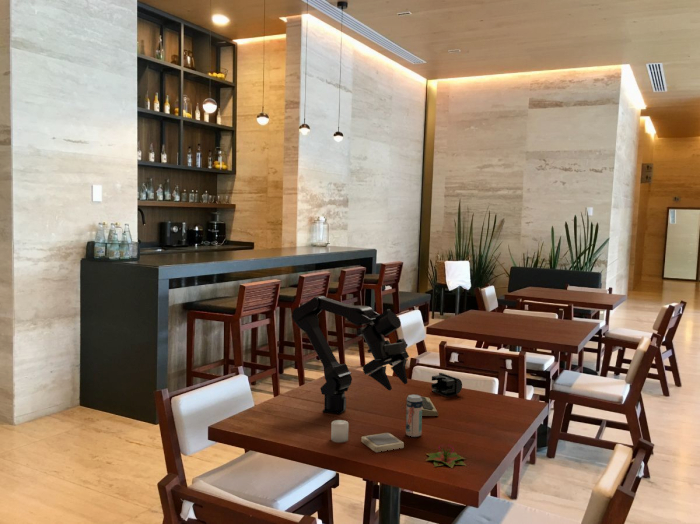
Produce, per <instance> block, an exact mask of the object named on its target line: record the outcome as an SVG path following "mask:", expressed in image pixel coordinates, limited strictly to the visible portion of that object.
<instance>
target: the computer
mask: <svg viewBox="0 0 700 524" xmlns="http://www.w3.org/2000/svg"><path fill="white" fill-rule="evenodd" d="M421 398H422V416H439V412H438V411H437V409H436V407H435V405H434V404H433V402H432V401H431V399H430V397H426V396H421Z"/></svg>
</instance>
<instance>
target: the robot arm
mask: <svg viewBox="0 0 700 524" xmlns="http://www.w3.org/2000/svg"><path fill="white" fill-rule="evenodd" d="M322 311H325V312H329V313H331V314H334V315H337V316H341V317H344V319H346V320H347V321H348V322H350V323H351V324H353V325H354V326H355V327H357V326H359V327H358V329H357V332H356V335H355V336H356V337H361V336H362V337H363V338H364V340H365V343H366V345H367V347H368V349H367V353H368V354H370V353H371V355H372V357H373V359H371V360H370V361H368V363H366V364H364V365H362V371H363V373H364V375H365V376H368V377H371V379H374V381H376V382H378V384H380V385H381V386H383V387H384V388H385V389H386V390H388V391H391V390H393V388H392V385H391V384H392V383H391V382H390V380H389V377H388V375H387V372H386V371H387V365H389V366H390V369H391V371H393V373H394V374H395V375H396V377H397V378H399V380H400V381H401V382H402V384H404V385H406V384H408V383H409V382H408V377H407V376H408V375H407V373H406V372H407V370H406V364H407V362H408V360H409V357H410V355H409V354H408V352H407V347H408V346H409V345H408V343H407V342H406V340H405V339H404V338H399V339H397V340H396V342H394V343H391V342H390V340H388V339H387V340H386V339H385V338H384V336H385V337H386V336H388V335H390V334H392V333H393V332H395V331H397V330H398V329H399V328H401V325H402V324H401V323H402V322H401V319H400V318H399V316H397V315H396V313H395V312H393V311H392V310H391V309H390V308H388V309H385V310H384V311H383V312H382V313H377V312H376V311H374V309H373V308H372V307H370V306H367V305H353V304H348V303H345V302H341V301H338V300H335V299H332V298H328V297H326V296H325V295H320V296H318V295H317V296H314V297H313V298H311V299H310V300H309V301H307V302H305V303H304V304H302V305H300V306H297V307H295V308H294V309H293V311H292V315H291V318H292V321H293V322H294V323H295V325H296V326H297V327H298V329H300V330H302V332H304V333H305V334H306V335H307V338H308V340H309V341H310V344H311V346H312V347H313V349H314V351H315V352H316V355H317V356H318V358H319V360H320V362H321V364H322V366H323V368H324V379H325V383H324V384H323V385H322V386H320V388H319V389H320V392H321V395H324V406H323V407H324V409H322V413H329V414H336V415H337V414H338V415H340V414H342V413H344V411H345V410H346V409H347V397H346V393H345V392H348V391H349V387H350V386H351V384H352V381H353V378H352V372H351V371H350V370H349V368H348V365H347V364H346V363H343V364H341V363H340V362H338V360H337V358H336V356H335V355H334V353H333V351H332V348H331V347H330V345H329V343H328V341H327V339H326V337H325V336H324V334H323V332H322V331H321V328H320V326H319V314H321V312H322ZM363 325H365V326H363ZM361 326H363V327H361Z"/></svg>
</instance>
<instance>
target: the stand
mask: <svg viewBox="0 0 700 524" xmlns="http://www.w3.org/2000/svg"><path fill="white" fill-rule="evenodd" d="M360 439H361V442H362V444H364V445H365V446H366V447H368V448H369V449H371V450H372V451H373V452H375V453H382V452H387V450H388V451H392V450H393V449H394V450H399V448H400V449H404V448H405V446H404V445H405V443H404V441H402V440H401V439H400V438H398V437H396V436H394V435H393V434H391V433H390V432H383V433H376V434H370V435H364V436H361V438H360ZM381 451H382V452H381Z"/></svg>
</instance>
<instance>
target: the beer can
mask: <svg viewBox="0 0 700 524" xmlns="http://www.w3.org/2000/svg"><path fill="white" fill-rule="evenodd" d="M421 397H422V396H421V395H419V394H414V393H413V394H409V395H408V396H407V398H406V401H405V402H406V405H405V406H406V407H405V408H406V409H405V410H406V413H405V417H406V418H405V435H407V436H408V437H410V436H411V437H410V438H417V437H420V436H421V435H422V434H423V433H422V430H423V428H422V425H423V417H422V398H421Z"/></svg>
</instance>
